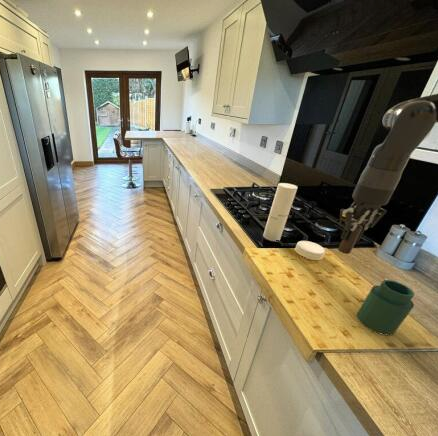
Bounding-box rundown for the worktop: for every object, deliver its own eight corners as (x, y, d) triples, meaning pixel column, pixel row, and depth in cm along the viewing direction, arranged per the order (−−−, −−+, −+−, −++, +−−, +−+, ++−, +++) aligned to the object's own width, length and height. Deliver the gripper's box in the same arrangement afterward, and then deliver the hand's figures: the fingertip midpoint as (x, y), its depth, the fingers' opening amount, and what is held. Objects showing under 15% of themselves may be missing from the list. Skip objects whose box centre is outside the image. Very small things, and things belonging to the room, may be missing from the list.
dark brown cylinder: (347, 249, 73) (360, 223, 69) (351, 254, 70) (365, 228, 66) (336, 247, 74) (348, 222, 70) (340, 252, 71) (352, 226, 67)
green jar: (384, 315, 69) (407, 281, 63) (401, 339, 62) (429, 303, 56) (351, 308, 71) (371, 274, 66) (364, 329, 64) (387, 294, 59)
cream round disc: (328, 261, 93) (331, 254, 91) (303, 260, 93) (306, 253, 91) (312, 247, 102) (315, 240, 100) (290, 246, 102) (292, 239, 100)
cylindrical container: (281, 242, 105) (299, 189, 94) (263, 239, 107) (279, 186, 96) (278, 235, 111) (295, 184, 100) (262, 232, 113) (277, 182, 102)
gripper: (369, 189, 58) (341, 248, 66) (413, 188, 61) (381, 244, 68) (341, 180, 65) (319, 235, 72) (382, 179, 67) (356, 232, 75)
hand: (349, 239), depth 70 cm, fingers closed on dark brown cylinder, 3 cm apart
